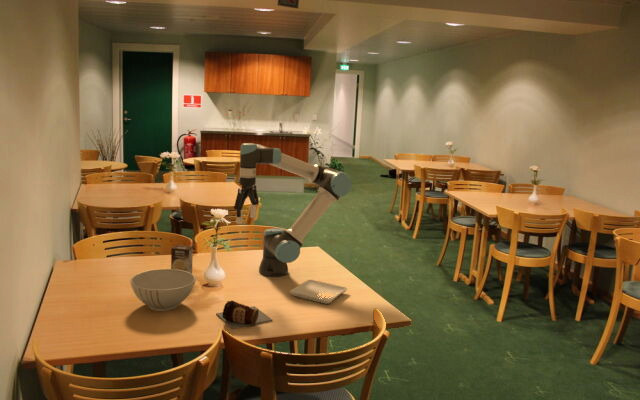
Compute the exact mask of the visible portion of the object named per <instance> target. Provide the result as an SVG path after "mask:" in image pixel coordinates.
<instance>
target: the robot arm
mask: <svg viewBox="0 0 640 400" xmlns="http://www.w3.org/2000/svg"><path fill="white" fill-rule="evenodd" d="M239 151H240V152H239V185H240V186H241V188H240V187H239V188H238V189H237V195H236V198H235V203H234V206H233V209H234V210H235V211H236V215H235V216H236V217H235V219H236V221H235V223H236V224H238V225H243V213H244V211H243V207H244V204H245V202H246V200H247V199H249V200H250V203H251V204H250V207H249V208H250V209H249V211H250V212H249V218H250V219H256V218H257V217H256V216H257V205H259V202H260V200H259V196H258V191H257V185H256V182H257V181H256V180H257V178H256V175H257V165H270V166H272V167H276V168H277V169H279V170H284V171H286V172H289V173H291V174H295V175H297V176H299V177H302V178H305V179H308V182H310V183H312V184H314V185H316V186H318V192H317V193H316V194H315V196H314V198H312V200H311V201H310V202H309V203H308V205H307V206H306V207H305V208H304V210H303V211H302V212H301V213H300V215H299V216H298V218H297V219H296V220H295V221H294V222H293V224H292V225H291V226H290V228H287V229H285V228H276V227H275V228H267V229H265V230H264V231H263V242H262V243H263V246H262V258H261V261H260V265H259V267H258V272H259V274H261V275H263V276H265V277H283V276H286V275H288V274H289V267H288V264H290V263H293V262H295V261H296V260H297V259H298V258H299V256H300V254H301V248H302V247H303V245H304V239H305V238H306V236H307V235H309V233H310V231H312V228H314V227H315V225H316V224H317V222H318V221H319V220H320V218H321V217H322V216H323V215H324V213H325V212H326V211H327V210H328V208H329V207H330V206H331V204H333V203H334V202H338V200H339V199H340V198H341V197H344V196H346V195H348V194H349V193H350V192H351V189H352V180H351V177H350V176H349V174H347V173H345V172H344V171H341V170H337V169H335V168H331V167H327V166H323V165H318V164H317V163H316V164H311V163H308V162H306V161H303V160H300V159H299V158H296V157H293V156H291V155H288V154H285V153H282V150H281V149H280V148H278V147H277V148H276V147H268V146H265V145H263V144H260V143H252V142H251V143H250V142H247V143H246V142H245V143H244V142H243V143H241V145H240V150H239Z"/></svg>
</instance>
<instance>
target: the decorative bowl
mask: <svg viewBox="0 0 640 400" xmlns="http://www.w3.org/2000/svg"><path fill="white" fill-rule="evenodd" d="M196 281H197V278H196V276H195V275H194V274H193V273H192V274H191V273H189V272H187V271H183V270H177V269H171V268H157V269H149V270H145V271H142V272H139V273H136V274H135V275H133V276H132V277H130V280H129V282H130V286H131V289H132V291H133V293H134V295H135V296H136V297H137V299H138V300H139V301H140V302H141V303H142V304H145V305H146V306H148V308H149V309H150V310H152V311H156V312H168V311H171V310H174V309H176V308H178V306H179V304H182V302H184V301H185V300H186V299H188V297H189V296H190V295H191V292H192V291H193V289H194V287H195V284H196Z"/></svg>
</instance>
